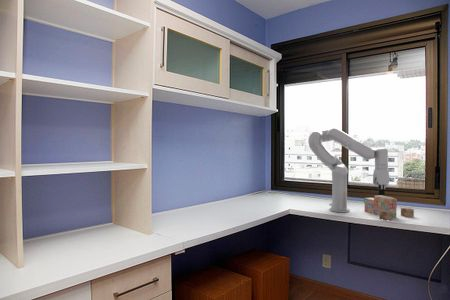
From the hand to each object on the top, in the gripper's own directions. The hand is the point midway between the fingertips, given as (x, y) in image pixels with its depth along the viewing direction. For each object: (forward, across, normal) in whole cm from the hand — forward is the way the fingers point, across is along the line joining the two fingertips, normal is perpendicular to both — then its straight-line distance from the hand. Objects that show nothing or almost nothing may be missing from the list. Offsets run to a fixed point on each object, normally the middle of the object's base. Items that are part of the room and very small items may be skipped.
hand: (381, 195), depth 193 cm
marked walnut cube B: (+13, -11, +10) cm, 19 cm away
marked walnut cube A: (+13, +9, +11) cm, 19 cm away
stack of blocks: (+13, +1, -1) cm, 13 cm away
